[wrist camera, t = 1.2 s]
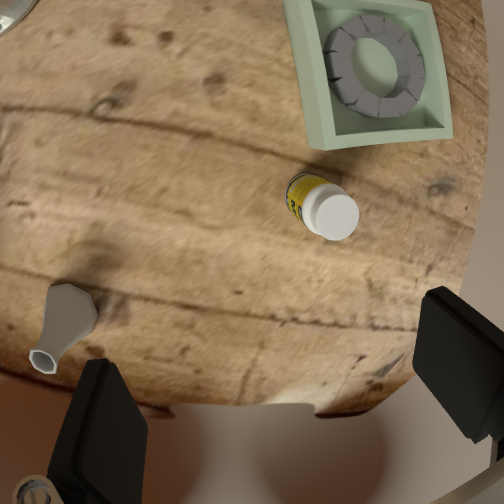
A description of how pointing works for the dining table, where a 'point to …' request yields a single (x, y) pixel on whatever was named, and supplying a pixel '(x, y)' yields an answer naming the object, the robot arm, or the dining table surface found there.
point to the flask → (62, 325)
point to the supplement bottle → (322, 206)
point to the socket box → (369, 71)
